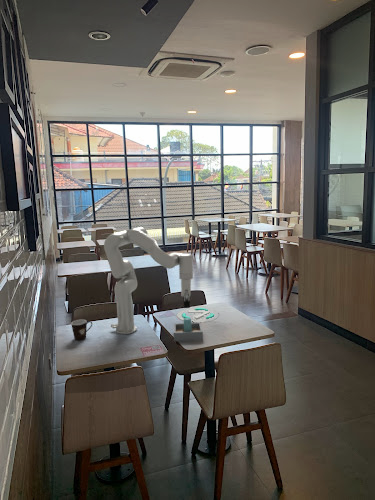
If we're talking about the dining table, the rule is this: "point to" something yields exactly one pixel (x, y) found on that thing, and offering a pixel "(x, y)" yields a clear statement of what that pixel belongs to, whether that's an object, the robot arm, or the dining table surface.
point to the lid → (197, 316)
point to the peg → (187, 325)
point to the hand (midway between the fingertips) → (186, 304)
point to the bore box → (188, 336)
